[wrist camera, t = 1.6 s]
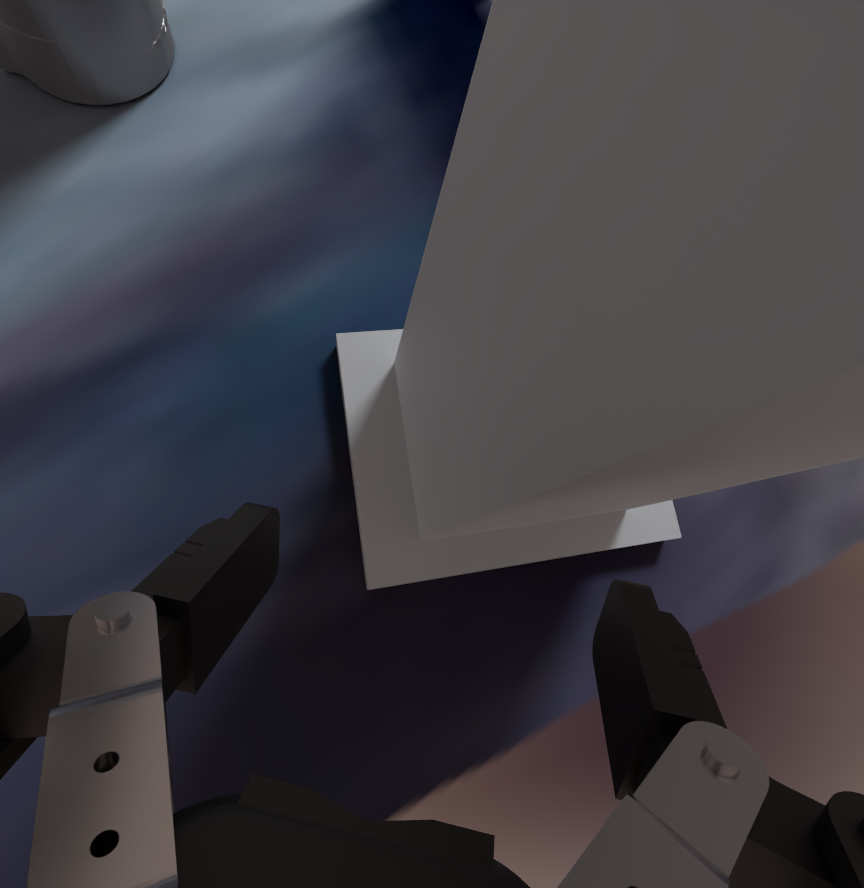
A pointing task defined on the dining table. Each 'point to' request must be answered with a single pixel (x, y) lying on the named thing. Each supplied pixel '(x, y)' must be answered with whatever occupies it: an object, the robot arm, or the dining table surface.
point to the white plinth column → (620, 285)
